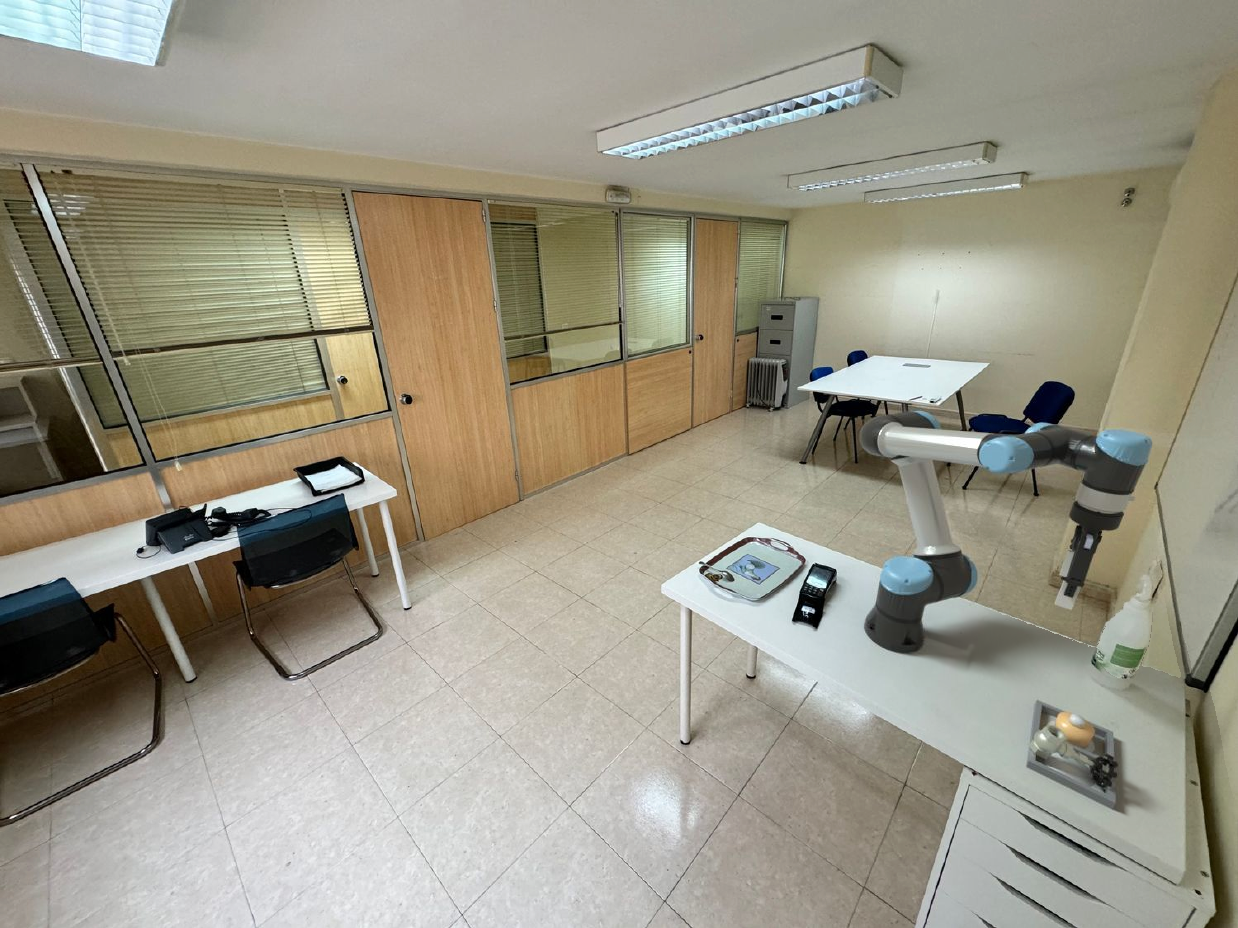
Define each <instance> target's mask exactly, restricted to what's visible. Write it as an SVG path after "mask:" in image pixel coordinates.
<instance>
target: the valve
mask: <svg viewBox="0 0 1238 928" xmlns="http://www.w3.org/2000/svg"><path fill="white" fill-rule="evenodd" d="M1047 724H1048V723H1047ZM1047 724H1046V725H1045V726H1044V727H1043V728H1042V729H1039V731H1038V732H1036V734H1035V735H1034V740H1032V741H1031V742H1030V741H1029V742H1030V743H1029V742H1028V747H1029V746H1030V748H1031V750H1032V751H1033V752H1034V753H1035V754H1036V756H1037V757H1039V758H1042V759H1043V760H1044V759H1047V758H1048V757H1049V756H1051V755H1052V754H1053V753H1059V754H1060V756H1061V757H1063V758H1065V759H1070V758H1071V759H1073V758H1075V760H1076V761H1077V762H1079V763H1081V764H1083V765H1086V766H1088V768H1089V769H1090V771H1091V773H1092V774H1093V776H1092V778H1093V780H1095V781H1096V783H1095V785H1096V786H1097V787H1099V788H1101V789H1105V786H1106V785H1107V786H1109V787H1111V786H1112V781H1111V779H1112V777H1114V778H1115V779H1117V777H1118V772H1116V771H1114V769H1115V768H1118V767H1119V762H1118V761H1116V760H1115V756H1114V757H1113V756H1111V755H1109V754H1105V756H1106V757H1107V759H1106V758H1104V756H1102V755H1098V756H1099V757H1097V758H1095V760H1091V761H1090V760H1088V758H1087V757H1086V756H1085V755H1083V754H1081V753H1079V752H1078V753H1076V752H1075V751H1074V750H1073V747H1072V746H1071V745H1069V744H1067V743H1063V742H1064V741H1065V740H1066V739H1067V737H1066V735H1065V734H1064V732H1063V731H1062V730H1061V729H1059V728H1058V727H1056V726H1054V725H1051V724H1048V725H1047ZM1099 761H1101V763H1099ZM1107 764H1108V765H1109V768H1107V767H1106V765H1107ZM1115 770H1116V769H1115ZM1103 776H1104V778H1103ZM1105 776H1106V777H1105Z"/></svg>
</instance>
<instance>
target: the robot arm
mask: <svg viewBox="0 0 1238 928" xmlns="http://www.w3.org/2000/svg"><path fill="white" fill-rule="evenodd" d="M859 443H860V445H861V447H862V448H863V450H864V451H865V452H867V453H868V454H870V455H872V456H878V457H883V458H890V462H892V464H893V463H894V464H895V465H897V467H898V471H899V475H900V478H901V479H900V480H901V482H902V486H903V487H902V488H903V490H904V495H905V499H906V503H907V507H908V511H909V516H910V520H911V524H912V527H913V528H912V529H913V532H914V536H915V541H916V545H917V546H916V548H915V549H914V551H912V554H913V556H910V557H907V556H906V555H902V556H901V555H900V556H894V557H892V558H890V559H887V561H886V562H885V563H884V564H883V567H882V570H881V572H880V575H879V582H878V583H879V584H878V589H877V594H876V599H875V604H874V605H873V607H872V608H871V610H870V611H869V612H868V614H866V616H865V619H864V623H863V625H864V626H863V629H864V632H865V633H866V635H867V637H868V638H869V639H871V641H873V642H874V643H875V644H877V645H878V646H880V647H881V648H884V649H885V650H888V651H892V652H895V653H901V654H912V653H915V652H918V651H920V650H921V649H922V648H923V646H924V643H925V639H926V637H925V629H924V624H923V616H924V611H925V608H926V606H928V605H932V604H935V603H938V602H939V603H940V602H942V601H943V602H944V601H946V600H949V599H955V598H960V597H962V596H964V595H966V594H969V593H970V592H972V591H973V589H975V588H976V586H977V583H978V574H979V573H978V570H977V567H976V565H975V563H974V562H973V561H972V560H970V557H969V556H967V555H966V554H965V553H963V552H962V548H961V547H960V546H959V545H956V544H955V543H954V542H953V538H952V535H951V530H950V526H949V523H948V517H947V514H946V510H945V506H944V502H943V498H942V494H941V490H940V485H939V482H938V477H937V474H936V470H935V466H934V461H940V462H946V463H953V464H960V465H966V466H967V465H968V466H976V467H981V468H984V469H986V470H987V471H989V472H991V473H993V474H996V475H1004V474H1006V475H1007V474H1008V475H1009V474H1010V475H1011V474H1012V475H1013V474H1017V473H1019V472H1024V471H1029V470H1034V469H1038V468H1043V467H1048V466H1054V465H1060V466H1064V467H1067V468H1070V469H1073V470H1076V471H1080V472H1083V477H1082V479H1081V482H1080V484H1079V486H1078V489H1077V492H1076V494H1075V497H1074V499H1075V501H1074V502H1073V503H1072V506H1071V509H1070V512H1069V515H1068V517H1069V519H1070V520H1071V521H1073V522H1074V523H1076V526H1075V528H1074V534H1073V537H1072V539H1070V543H1071V544H1070V545H1069V549H1068V551H1067V553H1066V556H1065V559H1064V560H1063V563H1062V566H1061V568H1060V572H1059V574H1058V575H1059V576H1061V577H1060V580H1061V581H1062V584H1061V587H1060V588H1059V591H1058V594H1057V596H1056V598H1055V602H1054V605H1055V606H1057V607H1060V608H1063V609H1066V610H1071V611H1072V610H1073V608H1074V605H1075V603H1076V601H1077V598H1078V595H1079V593H1080V591H1081V588H1083V587H1084V586H1085V581H1086V578H1087V576H1088V572H1089V569H1090V566H1091V563H1092V561H1093V558H1094V555H1095V554H1096V553H1097V549H1098V546H1099V544H1100V543H1101V541H1102V539H1103V535H1102V533H1103V531H1106V532H1110V531H1115V530H1118V529H1119V527H1120V525H1121V522H1122V521H1123V518H1124V516H1125V511H1126V510H1127V507H1128V506H1129V502H1134V501H1136V497H1135V496H1133V493H1134V492H1135V489H1136V486H1137V484H1138V482H1139V479H1140V477H1141V476H1142V473H1143V471H1144V469H1145V468H1146V467H1145V466H1146V465H1147V463H1148V462H1149V456H1150V453H1151V451H1152V447H1153V441H1152V439H1151V438H1150V437H1149V436H1148V435H1146V434H1143V433H1140V432H1136V431H1132V430H1130V431H1129V430H1124V429H1105V430H1102V431H1101V432H1100V433H1099V434H1098V435H1094V434H1090V433H1087V432H1083V431H1079V430H1076V429H1072V428H1068V427H1065V426H1063V425H1060V424H1052V423H1048V422H1038V423H1034V424H1033V425H1032V426H1031V427H1028V429H1027V430H1026V431H1025V432H1024V433H1021V434H1004V433H994V432H993V433H992V432H991V433H989V432H980V431H979V432H978V431H965V430H952V429H951V430H950V429H942V427H941V424H940V422H939V421H938V420H937V418H936V417H935V416H934V415H933V414H930V413H929V412H927V411H924V410H908V411H907V410H906V411H902V412H897V413H896V412H895V413H889V414H883V415H881V414H880V415H876V416H874V417H872V418H870V419H869V420H867V421H866V422H865V423H864V424H863V425H862V426H861V429H860V431H859Z"/></svg>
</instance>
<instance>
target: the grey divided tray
mask: <svg viewBox="0 0 1238 928" xmlns="http://www.w3.org/2000/svg"><path fill="white" fill-rule="evenodd" d="M1042 712H1043V714H1044V713H1045V714H1047V715H1049V716H1051V717H1054V718H1056V719H1057V717H1058V714H1059V713H1061V712H1066V711H1065V710H1063V709H1060V708H1058V707H1055V706H1053V705H1050V704H1049V703H1046V702H1043V701H1041V700H1038V699H1037V700H1036V701H1035V703H1034V707H1033V714H1032V721H1031V728H1030V736H1029V742H1028V744H1029V743H1030V742H1031V741H1032V740H1034V735H1035V734H1036V732H1038V731H1039V730H1040V723H1041V716H1042ZM1055 721H1056V720H1050V721H1049V722H1048V723H1046V726H1047V725H1048V724H1051V725H1054V724H1055ZM1087 721H1088V722H1089V723H1090V724H1091V725H1092V726H1093V728H1094V730H1095V733H1094V735H1096V736H1098V737H1100V738H1103V746H1104V747H1103V751H1104V754H1103V755H1104V756H1103V757H1104V758H1106V759H1107V757H1106V756H1105V754H1109V755H1111V756H1113V757H1114V758H1115V745H1114V744H1115V743H1114V740H1115V739H1114V738H1115V737H1114V731H1112V730H1110V729H1107V728H1104V727H1103V726H1101V725H1098V724H1096V723H1093V722H1091V721H1089V720H1087ZM1063 743H1067V744H1069V745H1071V746H1072V747H1073V750H1074V751H1075V752H1076V753H1078V752H1079V753H1081V754H1083V755H1085V756H1086V757H1087V758H1088V760H1090V761H1091V760H1095V758H1097V757H1099V756H1100V755H1097V754H1094V753H1093V752H1094V751H1095V748H1096V746H1095V743H1094V741H1093V740H1092V739H1091V742H1090V744H1089V746H1088V747H1087V748H1086V749H1081V748H1079V747H1077V746H1075V745H1072V744H1070V743H1068V742H1066V741H1064V742H1063ZM1026 757H1027V758H1026V764H1025V765H1026V766H1025V768H1027V769H1029V770H1032V771H1034V772H1036V773H1038V774H1040V775H1041V776H1044V777H1045V778H1048V779H1050V780H1052V781H1054V782H1056V783H1058V784H1060V785H1061V786H1064V787H1066V788H1067V789H1070V790H1072V791H1074V792H1076V793H1078V794H1081V795H1082V796H1084V797H1086V798H1089V799H1090V800H1092V801H1094V802H1096V803H1098V804H1100V805H1102V806H1104V807H1107V808H1109V809H1110V810H1113V809H1114V808H1115V806H1116V804H1117V803H1116V801H1117V800H1116V778H1114V777H1112V779H1111V781H1112V786H1111V787H1109V786H1107V785H1106V786H1105V788H1104V792H1101V791H1099V790H1097V789H1096V788H1093V787H1092V786H1094V784H1095V780H1093V778H1092V776H1093V774H1092V773H1091V771H1090V768H1089V766H1088V765H1087V764H1086V765H1083V764H1081V763H1079V762H1077V761H1076V760H1075V758H1073V759H1071V758H1070V759H1065V758H1063V757H1061V756H1060V754H1059V753H1053V754H1052V755H1051V756H1049V757H1048V758H1047V759H1044V758H1043V761H1044V763H1041V762H1039V761H1037V759H1036V757H1037V755H1036V754H1035V753H1034V752H1033V751H1032V750H1031V748H1030V746H1029V745H1028V751H1027V756H1026ZM1099 763H1101V761H1099ZM1106 767H1107V768H1109V765H1108V764H1107V765H1106ZM1115 770H1116V769H1114V771H1115ZM1115 772H1116V771H1115ZM1105 777H1106V776H1105V775H1104V778H1105Z"/></svg>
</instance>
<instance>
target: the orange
mask: <svg viewBox="0 0 1238 928" xmlns="http://www.w3.org/2000/svg"><path fill="white" fill-rule="evenodd" d="M1054 721H1055V724H1054V726H1056V727H1058V728H1059V729H1061V730H1062V731H1063V732H1064V734H1065V735H1066V737H1067V739H1066V740H1065V741H1066V742H1068V743H1070V744H1072V745H1075V746H1077V747H1079V748H1081V749H1086V748H1087V747H1088V746H1089V744H1090V742H1091V740H1092V739H1093V737H1094V735H1095V734H1094V733H1095V730H1094V728H1093V726H1092V725H1091V724H1090V723H1089V722H1090V721H1089V720H1086V719H1085V717H1083V716H1081V715H1080V714H1078V713H1073V712H1069V711H1065V712H1061V713H1059V714H1058V717H1057V718H1056V719H1055V720H1054ZM1088 721H1089V722H1088Z"/></svg>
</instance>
